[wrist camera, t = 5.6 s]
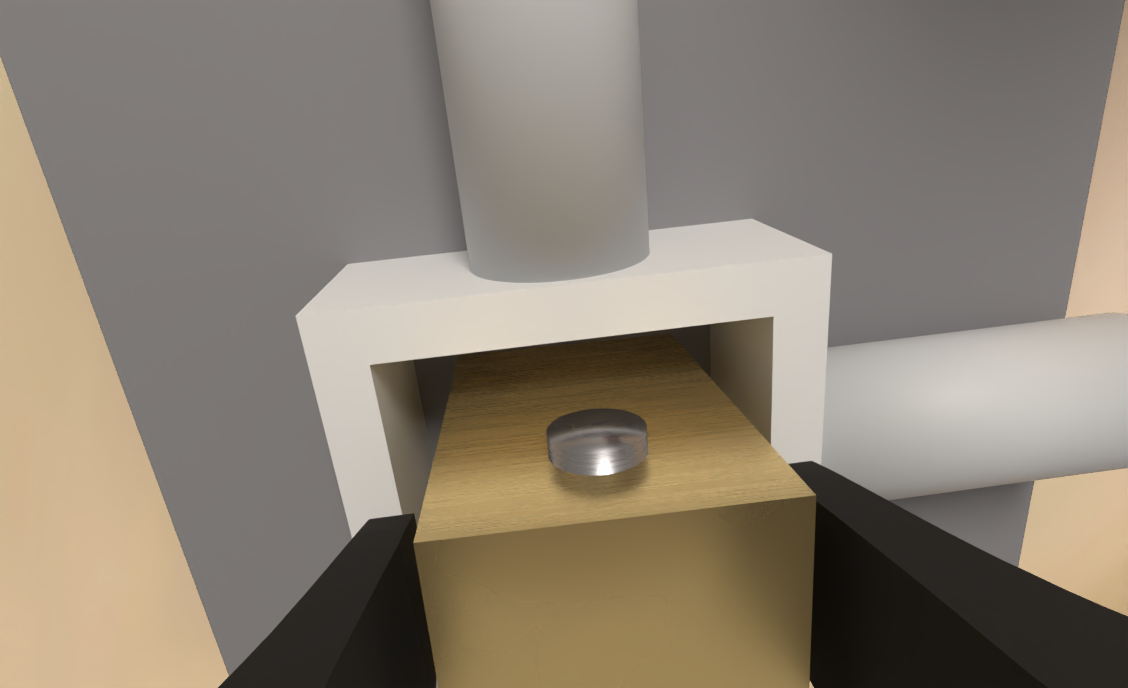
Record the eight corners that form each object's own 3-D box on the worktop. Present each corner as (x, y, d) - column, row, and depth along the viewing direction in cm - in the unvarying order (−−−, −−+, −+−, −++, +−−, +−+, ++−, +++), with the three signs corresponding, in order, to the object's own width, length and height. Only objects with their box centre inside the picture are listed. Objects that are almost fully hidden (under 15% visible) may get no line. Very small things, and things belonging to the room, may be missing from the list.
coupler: (670, 318, 12) (817, 467, 6) (677, 531, 13) (805, 813, 8) (456, 340, 12) (409, 516, 6) (486, 553, 13) (469, 863, 7)
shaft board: (1140, -386, 10) (1532, -691, 6) (983, 566, 16) (1128, 704, 12) (-83, -305, 9) (-505, -603, 5) (256, 669, 15) (175, 852, 11)
